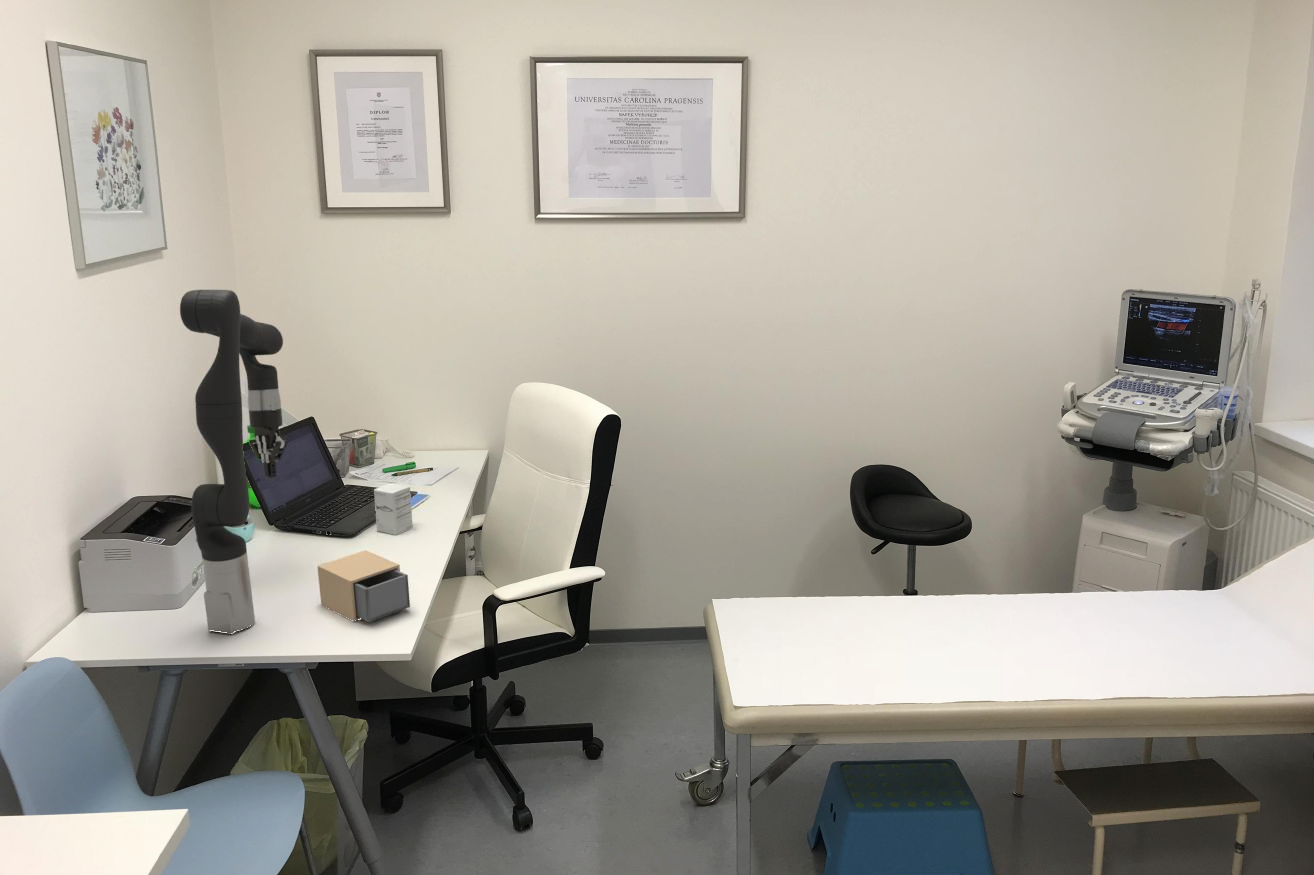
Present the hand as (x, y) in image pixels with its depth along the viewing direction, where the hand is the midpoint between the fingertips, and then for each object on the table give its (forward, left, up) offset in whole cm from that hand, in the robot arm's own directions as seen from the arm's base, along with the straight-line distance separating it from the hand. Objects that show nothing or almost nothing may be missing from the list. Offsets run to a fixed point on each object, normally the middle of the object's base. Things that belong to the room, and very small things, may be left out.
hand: (270, 477), depth 252 cm
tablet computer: (+56, -2, -26) cm, 62 cm away
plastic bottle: (+46, +38, -26) cm, 65 cm away
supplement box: (+36, -12, -26) cm, 46 cm away
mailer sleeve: (-12, -30, -26) cm, 41 cm away
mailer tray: (-13, -31, -25) cm, 42 cm away
